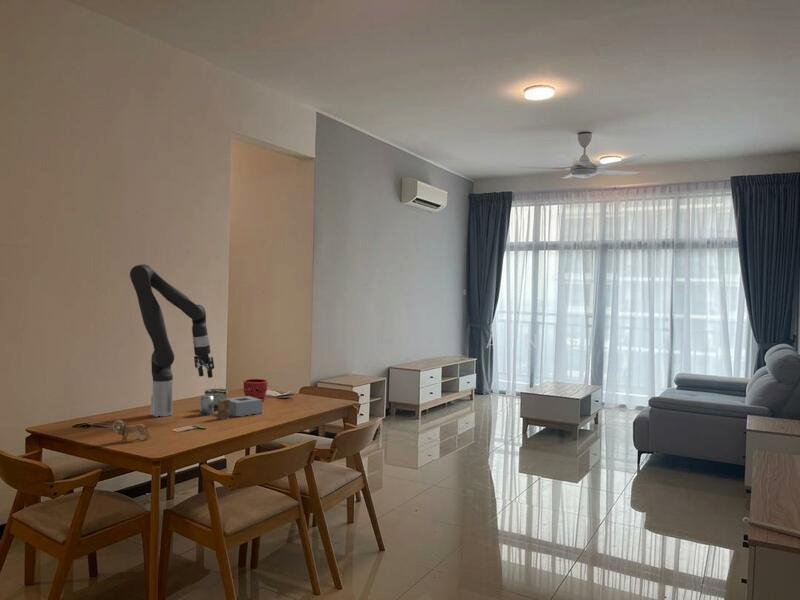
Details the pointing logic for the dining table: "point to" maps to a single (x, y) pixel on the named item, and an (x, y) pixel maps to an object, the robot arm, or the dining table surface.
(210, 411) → the round peg
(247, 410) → the socket block
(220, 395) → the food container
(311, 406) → the dining table surface
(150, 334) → the robot arm
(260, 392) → the plant pot
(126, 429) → the lion figurine
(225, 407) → the square peg
